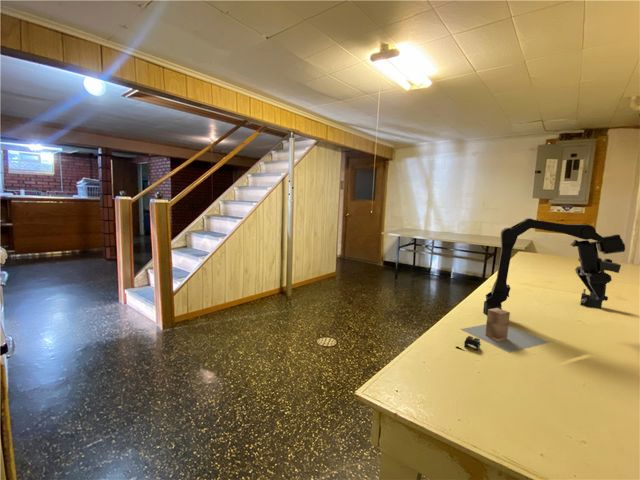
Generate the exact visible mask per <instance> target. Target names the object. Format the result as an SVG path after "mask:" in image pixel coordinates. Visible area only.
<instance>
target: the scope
mask: <svg viewBox="0 0 640 480" xmlns="http://www.w3.org/2000/svg"><path fill="white" fill-rule="evenodd" d="M606 289H607V284H606V285H605V286H604V291H603V296H602V298H598V297H597V295H596V294H595V292H590V291H589V292H590V293H589V294H586V292H587V291H586V290H587V288H583V289H582V293H581V297H580V306H582V307H590V308H593V309H599V310H601V309H602V307H603V302H604V301H605V302H607V301H608V300H609V297H608V296H607V295H606V292H607V290H606Z"/></svg>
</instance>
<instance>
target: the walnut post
mask: <svg viewBox="0 0 640 480" xmlns="http://www.w3.org/2000/svg"><path fill="white" fill-rule="evenodd" d="M510 315H511V312H510V311H507V310H504V309H503V308H502V309H499V308H494V309H488V314H487V315H486V316H487V317H486V323H485V324H486V334H485V335H486V336H488V337H490V338H493V339H495V340H497V341H499V340H504V339H507V334H508V326H510V325H509V324H510Z"/></svg>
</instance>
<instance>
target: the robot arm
mask: <svg viewBox="0 0 640 480" xmlns="http://www.w3.org/2000/svg"><path fill="white" fill-rule="evenodd" d="M530 229H534V230H540V231H541V230H542V231H548V232H554V233H560V234H566V235H568V236H571V237H574V238H577V239H574V240H573V242H571V243H570V244H569V245H570V246H571V247H574V248H575V247H577V252H578V257H579V258H578V259H577V260H578V262H580V263H579V264H580V266H579V265H578V266H576V268H575V269H574V270H575V274H577V276H578V278H579V279H580V281H581V282H582V283H583V284H584V285H585V287H586V290H588V291H589V292H595V294H596V295H597V297H598V298H602V296H603V291H604V286H605V285H606V286H607V284H610V283H611V282H612V276H611V275H610V274H609V273H607V272H605V271H609V272H614V273H616V274H619V273H620V270H621V266H622V265H621V264H619V263H618V262H613V260H612V259H610V258H604V259H602V258H601V257H599V253H602V254H603V255H610V254H618V253H625V251H626V244H625V243H624V241H623V239H622V237H621V235H620V234H612V235H607V236H602V235H600V234H599V233H597V230H596V228H595V227H594V226H592V225H590V224H585V223H558V222H552V221H546V220H545V221H544V220H539V219H533V218H528V217H526V218H524V220H522V221H520V222H518V223H516V224H514V225H512V226H511V227H506V228H505V227H504V228H503V229H502V230H501V231H500V245H501V246H500V248H501V249H500V255H499V262H498V267H497V272H496V273H497V274H496V279H495V281H494V283H493V285H492V288H491V291H489V292H488V293H487V294H485V301H483V312H482V313H483V314H484V315H485V316H487V314H488V309H494V308H499V309H502V310H503V308H502V306H503V305H502V303H503V302H506V301H507V299H508V298H510V291H511V286H510V284H507V280H508V273H509V269H510V268H509V267H510V263H511V262H510V261H511V258H512V252H513V251H512V250H513V248H514V247H515V244H516V242H517V239H518V237H519V236H521V235H522V234H524V233H525V232H527V231H529V230H530ZM578 239H581V240H580V241H579V240H578ZM590 240H592V241H590Z"/></svg>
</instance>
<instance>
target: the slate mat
mask: <svg viewBox="0 0 640 480" xmlns="http://www.w3.org/2000/svg"><path fill="white" fill-rule="evenodd" d="M486 324H487V323H485V324H480V325H475V326H470V327H464V328H460V330H461V331H462V332H465V333H467V334H469V335H470V336H472V337H474V338H478V339H480V340H482V341H484V342H486V343H488V344H491V345H493V346H494V347H496V348H498V349H501V350H503V351H506V352H507V353H514V352H518V351H521V350H525V349H529V348H532V347H537V346H540V345H544V344H545V345H546V344H549V343H550V341H548V340H546V339H543V338H541V337H538V336H535V335H533V334H530V333H528V332H525V331H523V330H520V329H519V328H515V327H512V326H510V325H508V334H507V339H504V340H499V341H497V340H495V339H493V338H490V337H488V336H486V335H485V334H486Z"/></svg>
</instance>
